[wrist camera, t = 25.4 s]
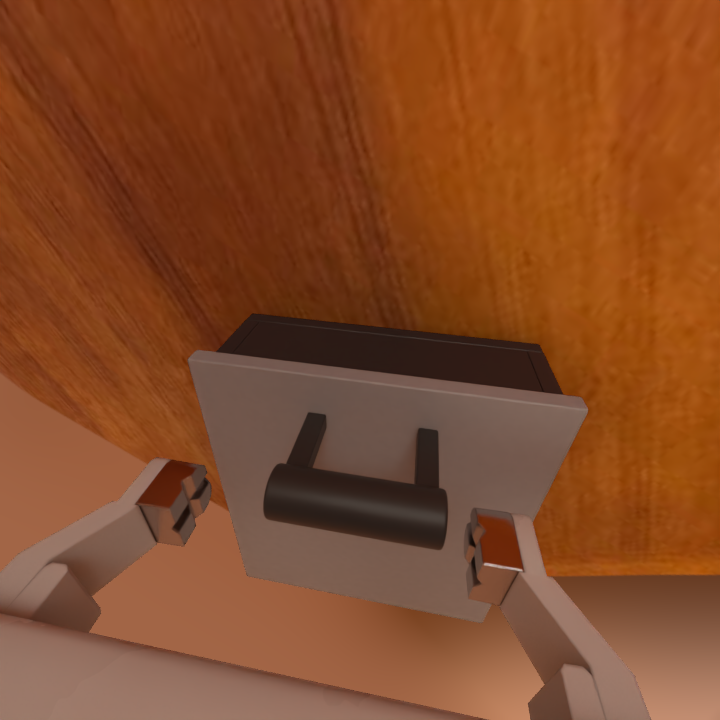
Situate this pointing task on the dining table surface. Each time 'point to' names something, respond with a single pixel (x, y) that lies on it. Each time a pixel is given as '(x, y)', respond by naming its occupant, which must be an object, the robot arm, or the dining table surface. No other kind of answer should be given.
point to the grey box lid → (373, 472)
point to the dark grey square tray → (395, 352)
